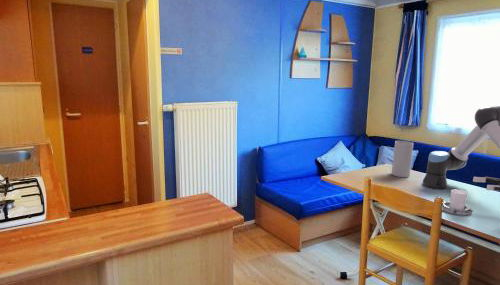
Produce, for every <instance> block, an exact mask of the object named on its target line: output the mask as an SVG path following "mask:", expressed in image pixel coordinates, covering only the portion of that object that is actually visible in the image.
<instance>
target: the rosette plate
mask: <svg viewBox="0 0 500 285" xmlns="http://www.w3.org/2000/svg"><path fill="white" fill-rule="evenodd" d="M443 202H444V205H443V211H442V212H443V213H446V214H449V215H454V216H458V217H469V216H471V215H472V212H474V210H472V209H471V208H470V207H469V206H468V205H467V204H465V206H464V210H459V209H453V208H450V201H449V200H447V201H443Z"/></svg>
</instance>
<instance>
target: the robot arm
mask: <svg viewBox="0 0 500 285" xmlns="http://www.w3.org/2000/svg"><path fill="white" fill-rule="evenodd" d="M474 122H475V124H476V126H475V127H474V128H473V129H472V130H471V131H470V132H469V133H468V134H467V135H466V136H465V137H464V139H462V140H461V142H460V143H459V144H458V145H457V146H456V147H452V148H451V149H450V150H449V151H448V152H447V151H444V150H434V151H431V152H430V153H429V155H428V160H427V167H426V174H425V175H424V177H423V179H422V182H421V184H422V186H425V187H427V188H429V189H434V190H436V189H437V190H445V189H447V188H448V181H447V176H446V175H447V171H454V170H460V169H463V168H464V167H465V166H466V165H467V162H468V160H469V155H471V153H472V152H473V151H474V150H475V149H476V148H477V147H478V146H479V145H480V144H481V143H482V142H483V141H484V140H485V139H486V138H487V137H489V139H490V140H491V141H492V142H493V144H494V145H495V146H496V147H497V148H498V150H499V151H500V105H492V106H491V105H486V106H481V107H480V108H478V109H477V110H476V112H475V114H474ZM472 178H473V179H472V182H474V183H484V184H485V183H489V184H487V185H486V189H485V190H487V191H495V192H497V191H498V192H500V178H497V177H493V176H492V177H491V176H487V175H485V176H482V177H481V176H473V177H472Z"/></svg>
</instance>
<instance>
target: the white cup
mask: <svg viewBox="0 0 500 285" xmlns="http://www.w3.org/2000/svg"><path fill="white" fill-rule="evenodd" d="M468 193H469V192H467V191H465V190H462V189H451V190H450V201H449V202H450V208H453V209H459V210H464V206H465V205H466V203H467V198H468Z"/></svg>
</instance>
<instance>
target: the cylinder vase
mask: <svg viewBox="0 0 500 285" xmlns="http://www.w3.org/2000/svg"><path fill="white" fill-rule="evenodd" d="M393 148H394V149H393V157H392V164H391V165H392V166H391V175H392V176H395V177H397V178H398V177H399V178H408V177H410V175H411V167H412V166H411V165H412V158H413V152H414V151H413V150H414V142H412V141H407V140H395V142H394V147H393Z"/></svg>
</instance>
